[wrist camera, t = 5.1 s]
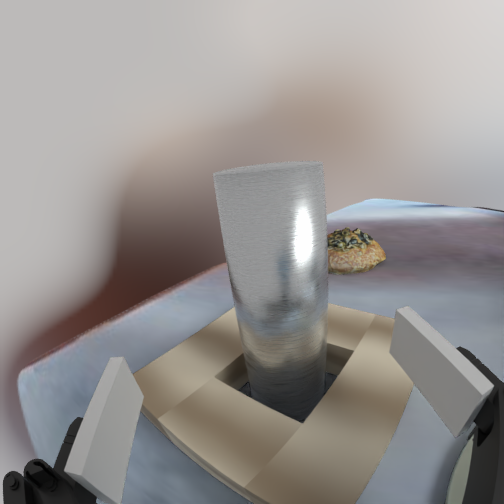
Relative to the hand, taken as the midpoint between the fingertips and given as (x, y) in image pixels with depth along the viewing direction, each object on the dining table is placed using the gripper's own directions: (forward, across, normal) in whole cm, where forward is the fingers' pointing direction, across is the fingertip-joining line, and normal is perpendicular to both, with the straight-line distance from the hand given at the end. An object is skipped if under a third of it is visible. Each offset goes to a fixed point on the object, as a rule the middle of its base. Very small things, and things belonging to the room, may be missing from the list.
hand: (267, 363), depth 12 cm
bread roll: (+24, +15, -6) cm, 29 cm away
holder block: (+4, +1, -7) cm, 8 cm away
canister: (+4, +1, -7) cm, 8 cm away
